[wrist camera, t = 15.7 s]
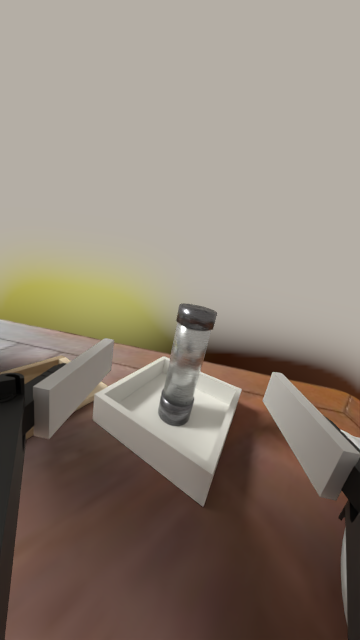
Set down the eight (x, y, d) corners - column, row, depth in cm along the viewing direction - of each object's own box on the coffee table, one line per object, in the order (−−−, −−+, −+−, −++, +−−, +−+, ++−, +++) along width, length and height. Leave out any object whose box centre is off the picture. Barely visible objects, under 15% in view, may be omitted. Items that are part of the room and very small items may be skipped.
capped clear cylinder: (151, 410, 25) (171, 303, 21) (172, 396, 29) (193, 303, 25) (175, 432, 22) (204, 315, 18) (195, 414, 26) (223, 313, 22)
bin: (92, 420, 23) (94, 394, 22) (160, 373, 37) (163, 356, 36) (203, 507, 16) (212, 474, 15) (235, 409, 30) (241, 389, 29)
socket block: (-27, 395, 23) (-29, 372, 23) (66, 365, 34) (66, 348, 33) (13, 447, 18) (11, 419, 17) (108, 391, 29) (110, 373, 28)
